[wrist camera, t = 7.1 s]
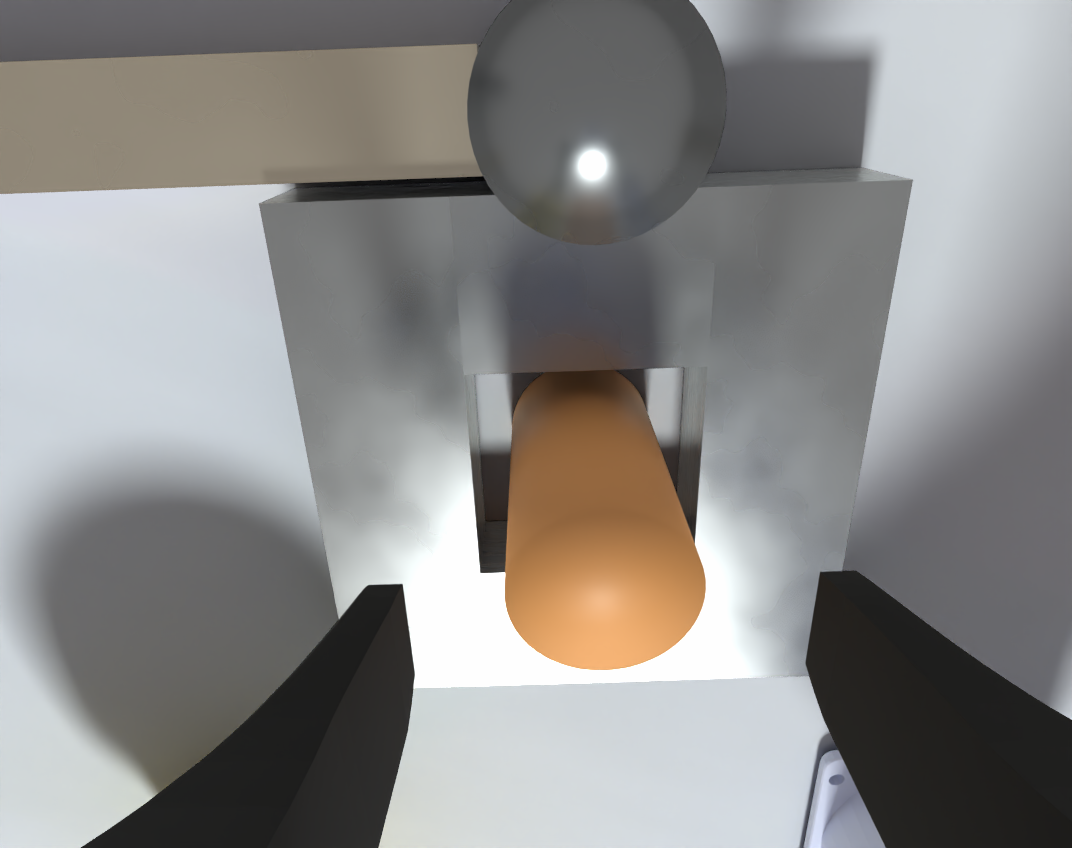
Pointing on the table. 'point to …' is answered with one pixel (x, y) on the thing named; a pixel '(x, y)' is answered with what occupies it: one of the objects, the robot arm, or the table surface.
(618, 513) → the orange rounded cylinder
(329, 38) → the table surface
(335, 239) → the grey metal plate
